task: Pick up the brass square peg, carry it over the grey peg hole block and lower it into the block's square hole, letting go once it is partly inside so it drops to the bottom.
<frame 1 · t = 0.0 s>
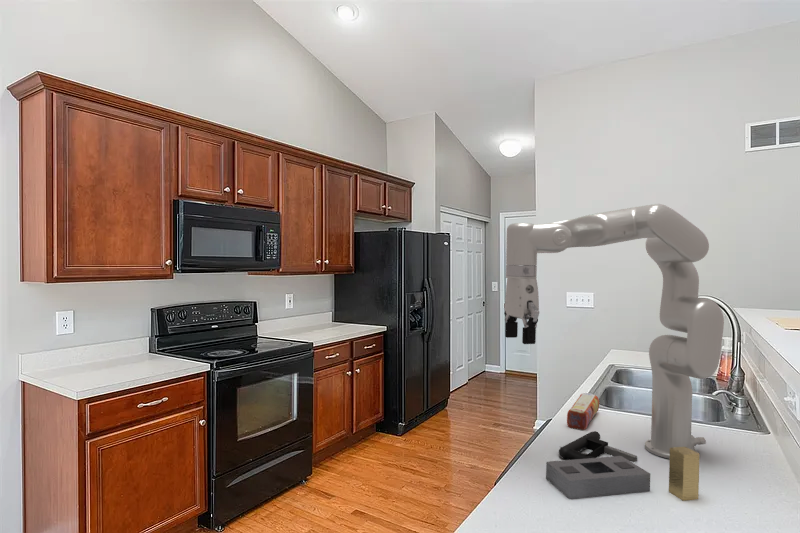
hand: (519, 340, 122), 31 cm above the counter, tool pointing down, fingers open, 9 cm apart
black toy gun: (599, 457, 128), on the counter
grey peg hole block: (596, 484, 111), on the counter
snack package: (583, 421, 157), on the counter
brass peg: (683, 495, 107), on the counter
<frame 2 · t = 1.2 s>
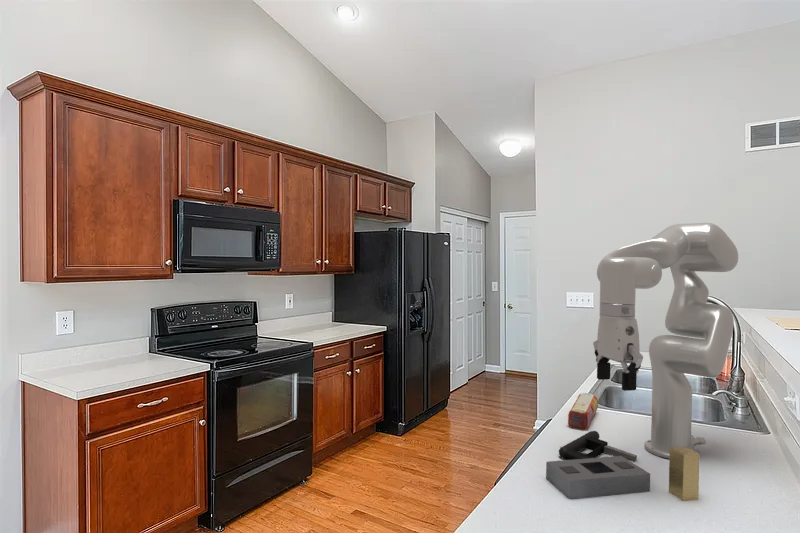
hand: (615, 384, 113), 23 cm above the counter, tool pointing down, fingers open, 9 cm apart
nothing on the counter moved.
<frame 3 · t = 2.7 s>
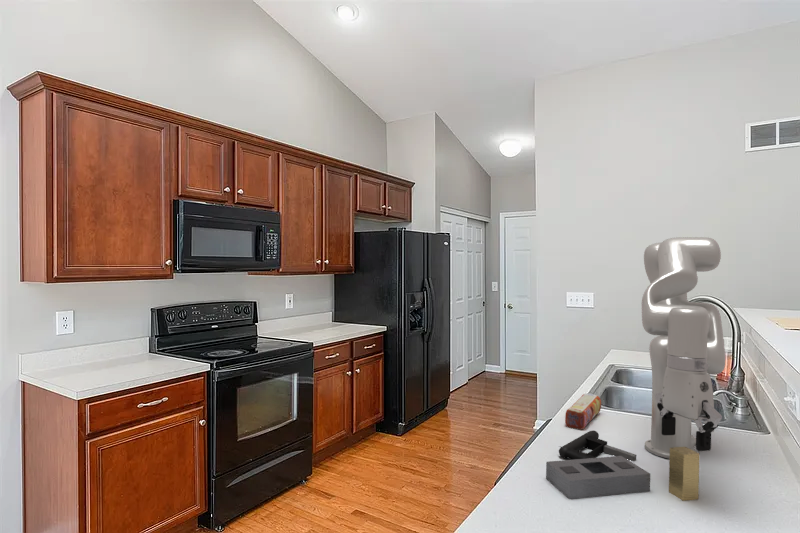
hand: (685, 442, 106), 12 cm above the counter, tool pointing down, fingers open, 9 cm apart
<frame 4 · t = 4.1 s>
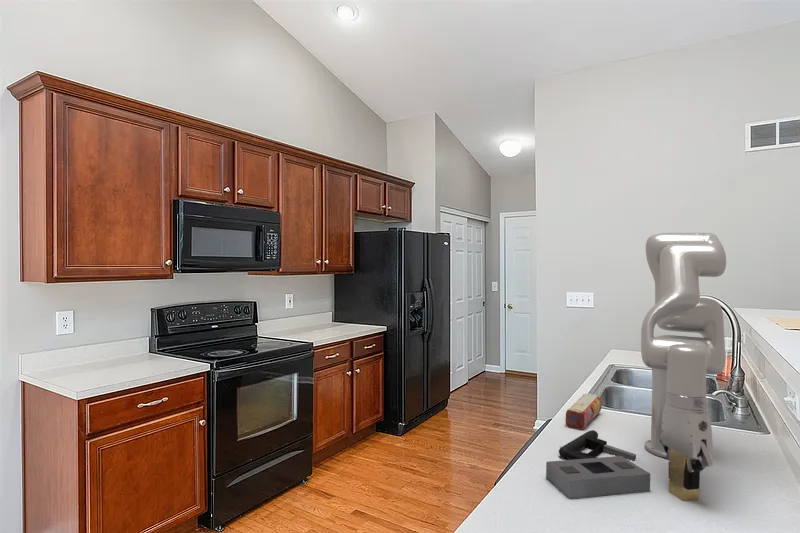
hand: (683, 482, 107), 3 cm above the counter, tool pointing down, fingers closed on brass peg, 4 cm apart
brass peg: (683, 495, 107), on the counter, touching gripper
everything else where it was.
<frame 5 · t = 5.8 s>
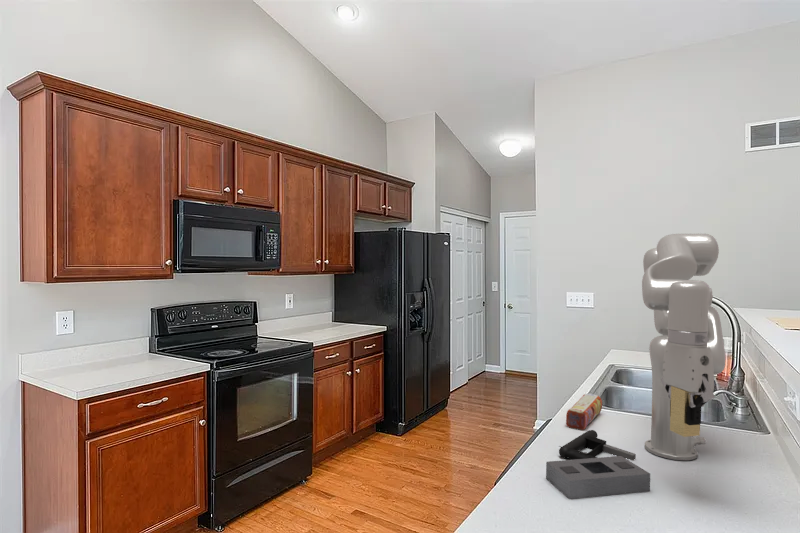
hand: (685, 419, 107), 17 cm above the counter, tool pointing down, fingers closed on brass peg, 4 cm apart
brass peg: (684, 432, 107), point 14 cm above the counter, touching gripper
everything else where it was.
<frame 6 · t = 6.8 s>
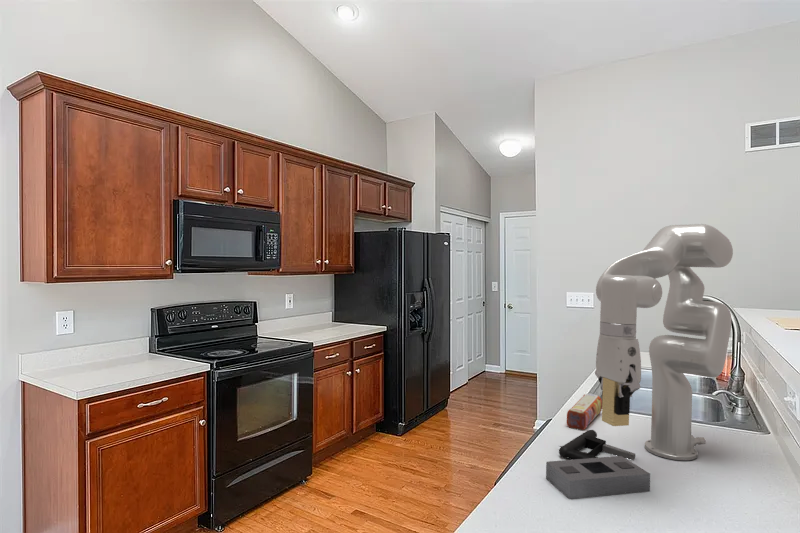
hand: (615, 410, 110), 18 cm above the counter, tool pointing down, fingers closed on brass peg, 4 cm apart
brass peg: (615, 422, 110), point 15 cm above the counter, touching gripper
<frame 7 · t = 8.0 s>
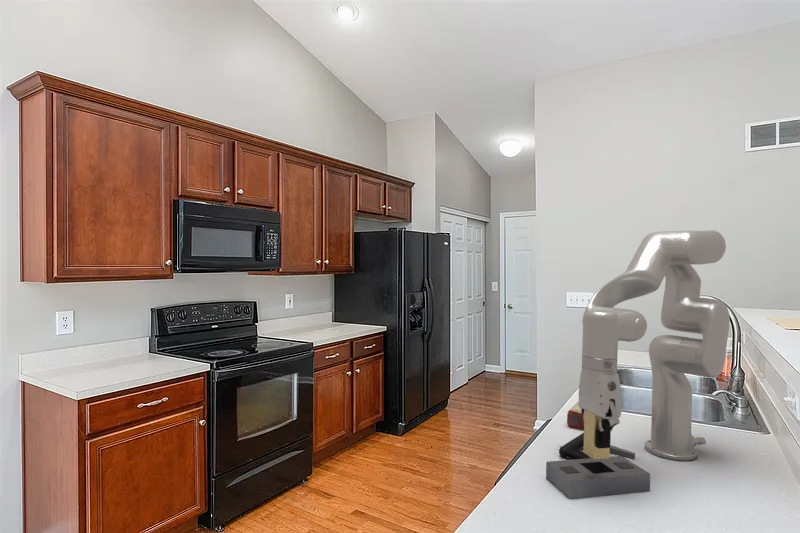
hand: (596, 443, 111), 10 cm above the counter, tool pointing down, fingers closed on brass peg, 4 cm apart
brass peg: (596, 455, 111), point 7 cm above the counter, touching gripper
when the fingers open (5 cm above the counter, at t = 9.5 s): brass peg drops 2 cm, resting in grey peg hole block.
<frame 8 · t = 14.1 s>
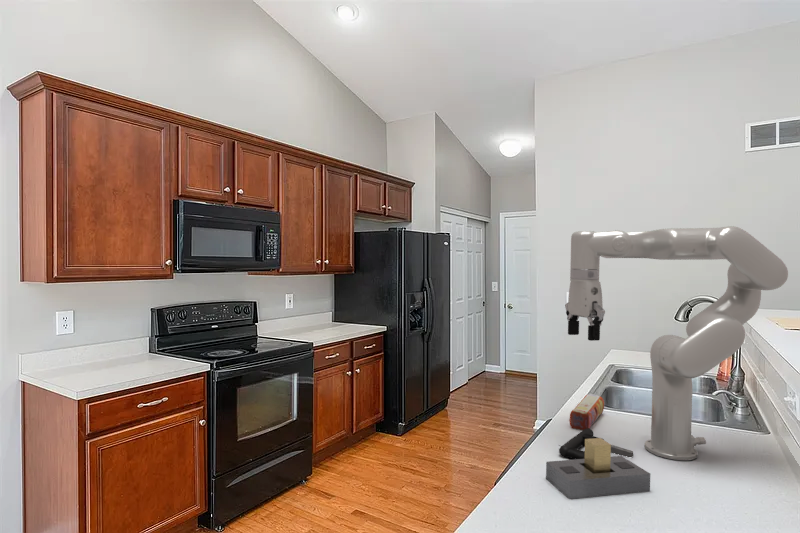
hand: (583, 337, 135), 30 cm above the counter, tool pointing down, fingers open, 9 cm apart
brass peg: (596, 484, 112), resting in grey peg hole block
at the end: brass peg 0.0 cm off-centre on the grey peg hole block, point 0.0 cm above the grey peg hole block's base; brass peg tilted 0°; the gripper is holding nothing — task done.
